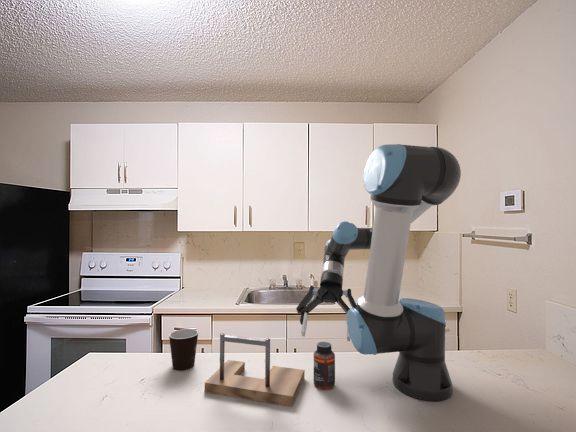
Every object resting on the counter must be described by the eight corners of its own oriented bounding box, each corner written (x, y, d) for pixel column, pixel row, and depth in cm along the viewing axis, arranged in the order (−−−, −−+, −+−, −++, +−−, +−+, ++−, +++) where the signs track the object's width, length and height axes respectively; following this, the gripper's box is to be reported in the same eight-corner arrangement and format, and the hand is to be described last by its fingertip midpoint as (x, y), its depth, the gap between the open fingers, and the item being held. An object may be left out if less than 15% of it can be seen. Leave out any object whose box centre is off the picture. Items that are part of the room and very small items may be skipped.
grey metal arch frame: (270, 384, 81) (270, 338, 81) (268, 387, 80) (269, 340, 80) (220, 377, 85) (221, 333, 85) (218, 379, 84) (219, 334, 84)
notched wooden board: (304, 378, 89) (304, 369, 89) (292, 406, 76) (292, 396, 76) (228, 367, 96) (228, 359, 96) (204, 392, 82) (204, 382, 82)
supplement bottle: (337, 382, 87) (337, 342, 88) (331, 393, 82) (331, 350, 82) (317, 378, 90) (317, 338, 90) (310, 388, 84) (310, 346, 85)
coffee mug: (189, 374, 92) (189, 339, 92) (162, 371, 93) (163, 337, 94) (207, 357, 103) (207, 326, 103) (183, 354, 105) (183, 324, 105)
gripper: (369, 285, 107) (368, 346, 92) (298, 281, 113) (287, 337, 99) (369, 272, 102) (368, 335, 87) (295, 269, 108) (282, 326, 94)
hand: (325, 336), depth 93 cm, fingers open, 13 cm apart
